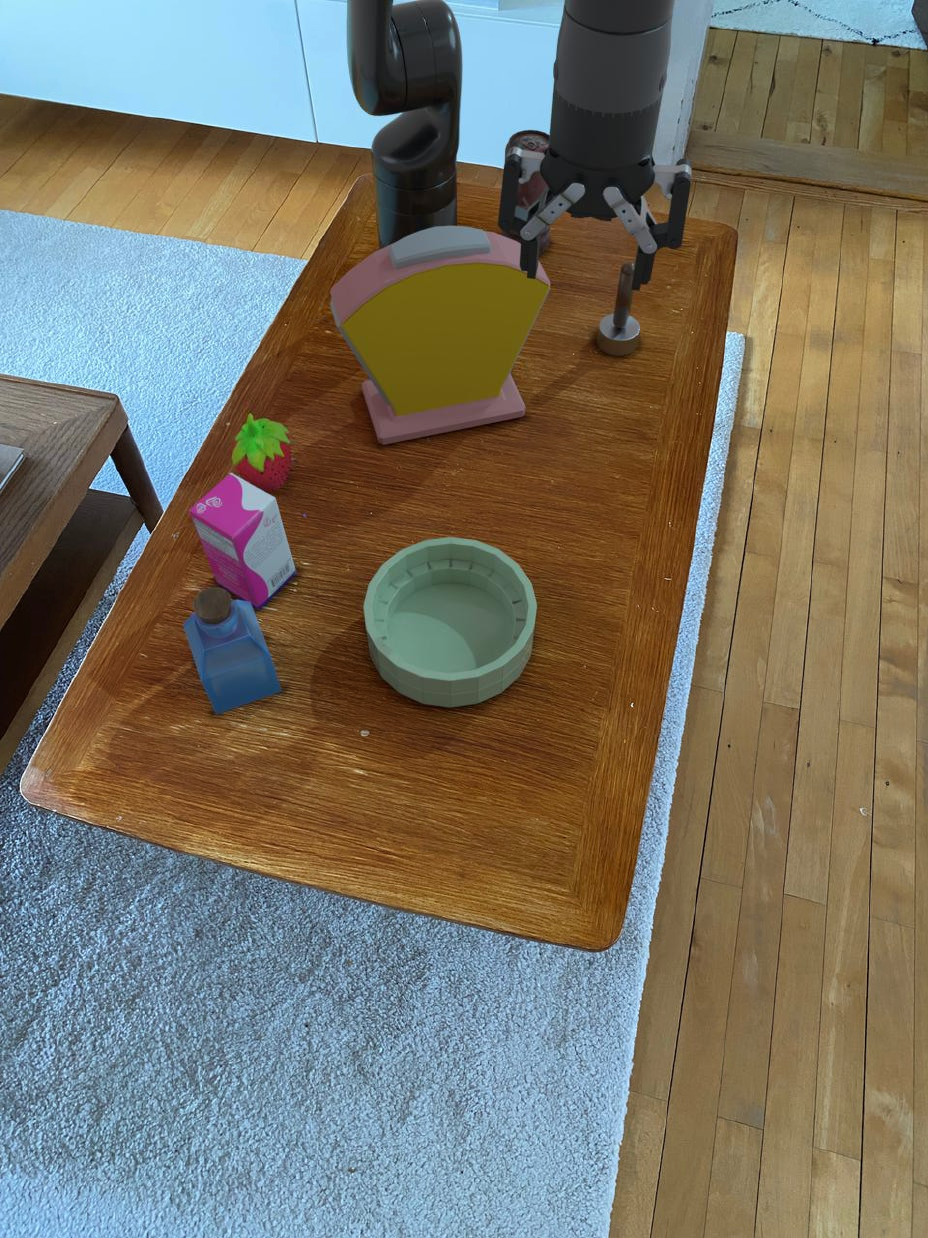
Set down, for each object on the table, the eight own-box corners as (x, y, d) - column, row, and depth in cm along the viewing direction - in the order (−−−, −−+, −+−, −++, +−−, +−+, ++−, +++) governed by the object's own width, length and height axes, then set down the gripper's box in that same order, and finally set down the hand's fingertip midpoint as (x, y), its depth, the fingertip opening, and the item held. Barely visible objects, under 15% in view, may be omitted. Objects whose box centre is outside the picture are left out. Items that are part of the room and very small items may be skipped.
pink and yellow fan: (523, 359, 114) (535, 190, 96) (548, 414, 109) (565, 246, 91) (339, 395, 111) (316, 227, 93) (356, 453, 106) (335, 287, 88)
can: (546, 262, 124) (555, 159, 112) (497, 256, 125) (501, 152, 113) (554, 234, 127) (563, 130, 116) (506, 228, 128) (510, 124, 116)
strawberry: (229, 504, 102) (208, 436, 93) (259, 454, 106) (242, 385, 97) (280, 518, 101) (263, 450, 92) (309, 467, 105) (295, 398, 96)
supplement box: (253, 545, 99) (231, 469, 89) (298, 573, 97) (279, 497, 87) (213, 583, 96) (186, 508, 87) (258, 612, 94) (235, 539, 85)
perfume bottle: (198, 660, 91) (166, 586, 81) (262, 638, 93) (238, 563, 83) (216, 714, 88) (184, 644, 78) (281, 691, 89) (259, 619, 79)
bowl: (360, 582, 96) (355, 548, 92) (515, 562, 98) (517, 528, 93) (378, 721, 88) (374, 691, 83) (547, 697, 89) (552, 666, 85)
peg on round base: (592, 331, 117) (603, 251, 108) (631, 326, 117) (645, 247, 108) (602, 358, 114) (614, 279, 105) (641, 353, 115) (657, 274, 105)
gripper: (716, 59, 68) (673, 259, 81) (513, 41, 69) (504, 240, 82) (712, 118, 64) (668, 318, 77) (497, 97, 65) (490, 297, 78)
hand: (583, 278), depth 80 cm, fingers open, 8 cm apart
